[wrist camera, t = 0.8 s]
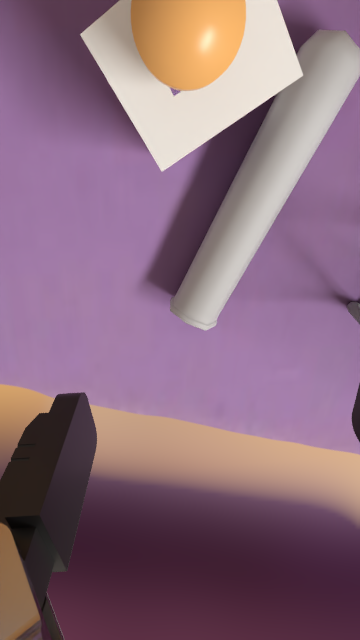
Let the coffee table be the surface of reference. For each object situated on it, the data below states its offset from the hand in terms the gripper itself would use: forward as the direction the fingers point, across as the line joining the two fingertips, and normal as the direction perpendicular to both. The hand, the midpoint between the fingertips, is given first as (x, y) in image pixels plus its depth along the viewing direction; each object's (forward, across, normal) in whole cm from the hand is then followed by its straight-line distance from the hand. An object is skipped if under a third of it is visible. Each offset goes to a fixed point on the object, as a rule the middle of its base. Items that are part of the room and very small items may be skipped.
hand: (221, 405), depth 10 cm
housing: (+26, 0, -10) cm, 28 cm away
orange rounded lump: (+16, 0, -11) cm, 20 cm away
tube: (+26, -6, -1) cm, 27 cm away
